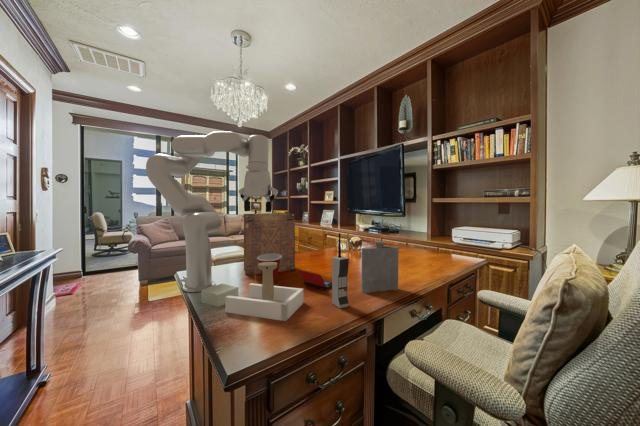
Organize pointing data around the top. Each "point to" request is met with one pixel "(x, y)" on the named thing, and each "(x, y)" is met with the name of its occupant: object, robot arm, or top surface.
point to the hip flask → (379, 268)
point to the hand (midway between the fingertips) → (257, 211)
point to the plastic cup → (271, 258)
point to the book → (269, 240)
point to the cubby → (266, 303)
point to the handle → (267, 280)
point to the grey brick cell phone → (339, 279)
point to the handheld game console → (315, 280)
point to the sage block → (218, 294)
